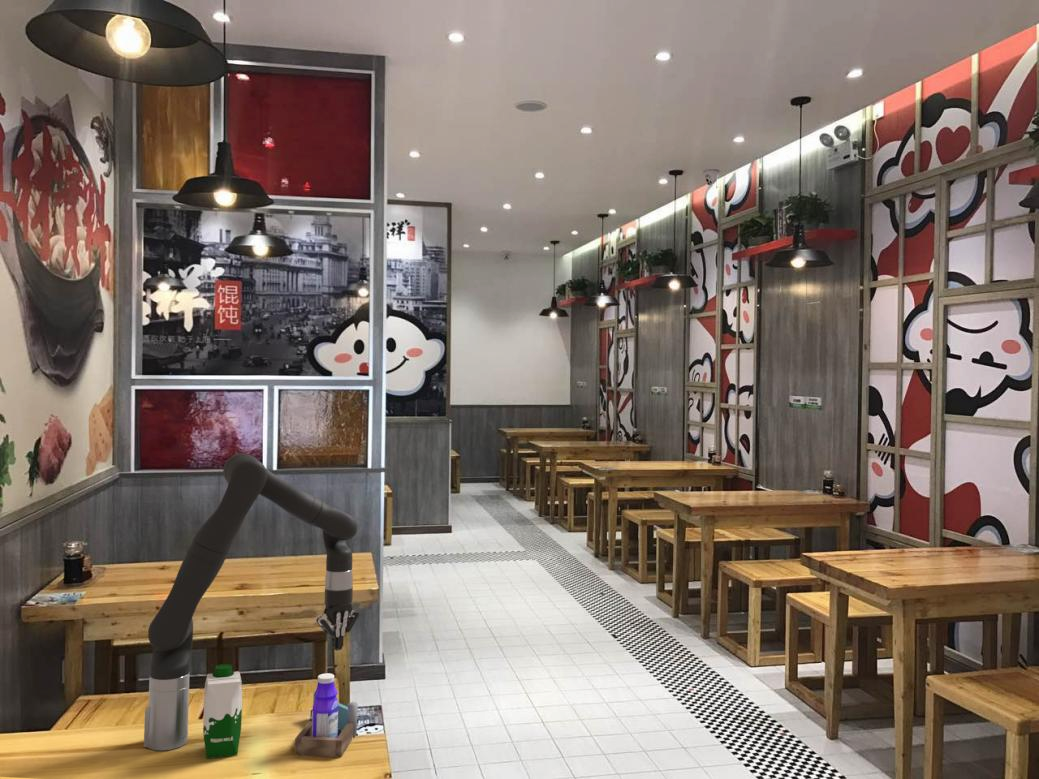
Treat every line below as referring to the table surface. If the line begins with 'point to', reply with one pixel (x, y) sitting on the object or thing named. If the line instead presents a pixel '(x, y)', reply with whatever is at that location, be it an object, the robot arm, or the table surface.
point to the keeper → (347, 716)
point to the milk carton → (222, 712)
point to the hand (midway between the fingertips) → (337, 649)
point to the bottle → (325, 708)
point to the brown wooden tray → (322, 742)
